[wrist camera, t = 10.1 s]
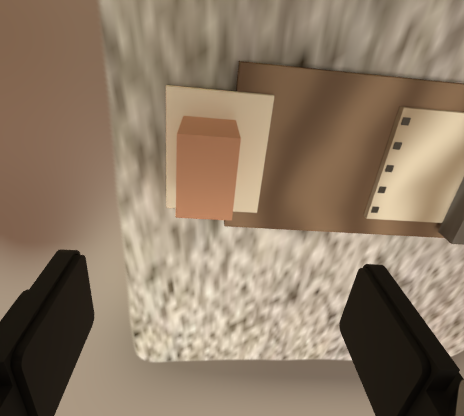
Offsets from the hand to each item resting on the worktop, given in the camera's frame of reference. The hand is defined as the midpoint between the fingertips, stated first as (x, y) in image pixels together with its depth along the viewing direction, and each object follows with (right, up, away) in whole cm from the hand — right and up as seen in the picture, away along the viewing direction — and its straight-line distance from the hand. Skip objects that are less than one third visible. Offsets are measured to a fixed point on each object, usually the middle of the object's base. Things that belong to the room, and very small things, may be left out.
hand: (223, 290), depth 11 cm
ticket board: (+13, +7, +18) cm, 23 cm away
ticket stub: (-1, +7, +15) cm, 17 cm away
